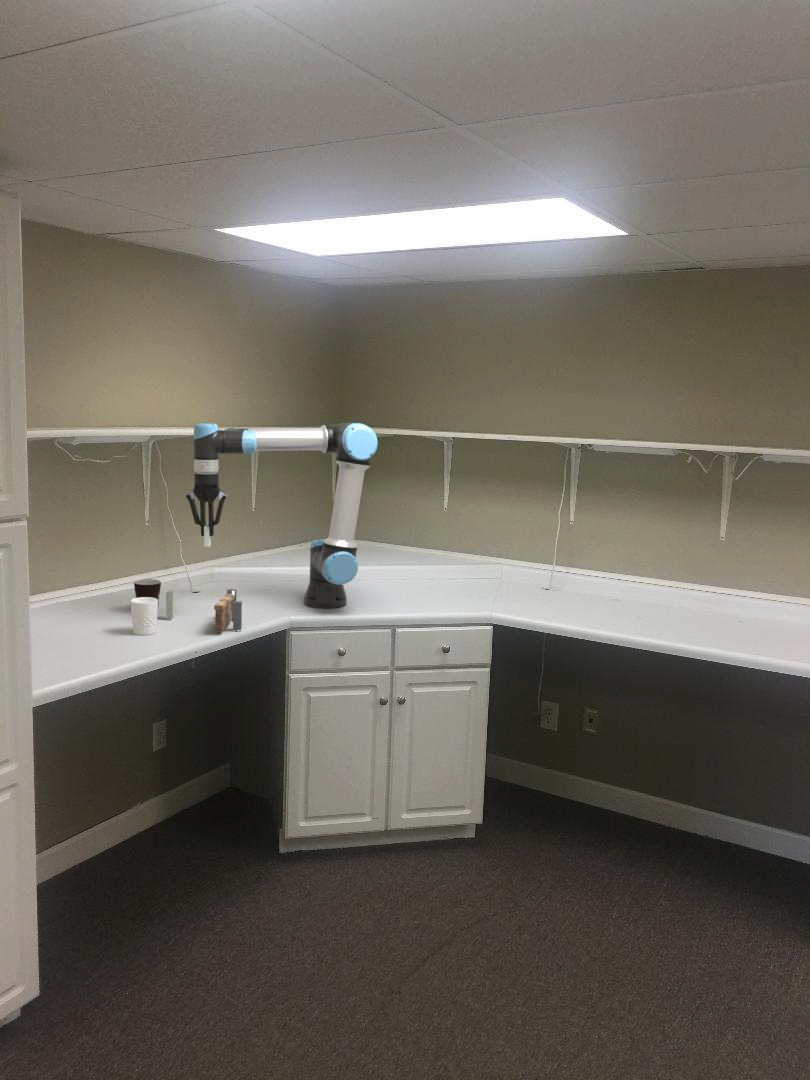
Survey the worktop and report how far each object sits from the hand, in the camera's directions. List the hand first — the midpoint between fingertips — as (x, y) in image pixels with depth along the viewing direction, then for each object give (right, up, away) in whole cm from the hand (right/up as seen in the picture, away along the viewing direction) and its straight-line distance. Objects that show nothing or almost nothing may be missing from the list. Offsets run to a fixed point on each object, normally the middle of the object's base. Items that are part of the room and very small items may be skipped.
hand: (207, 546), depth 277 cm
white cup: (-15, -26, -16) cm, 34 cm away
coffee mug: (-21, -22, +10) cm, 32 cm away
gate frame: (0, -25, -4) cm, 25 cm away
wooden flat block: (+7, -25, -8) cm, 27 cm away
